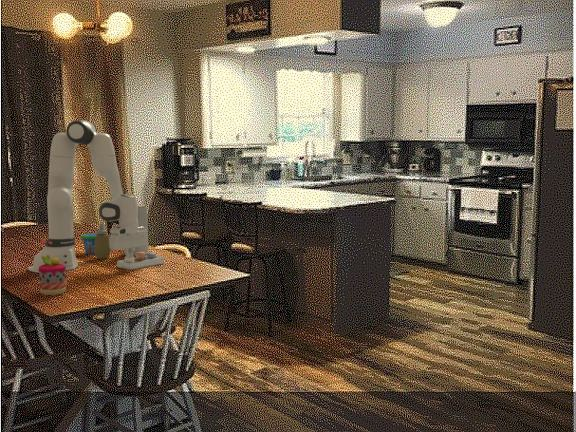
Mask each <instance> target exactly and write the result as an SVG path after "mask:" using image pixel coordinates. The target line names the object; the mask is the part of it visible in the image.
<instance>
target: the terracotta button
mask: <svg viewBox="0 0 576 432" xmlns="http://www.w3.org/2000/svg"><path fill="white" fill-rule="evenodd" d="M145 256H146V255H145V252H136V256H135V258H136V259H138V260H142V259H145Z"/></svg>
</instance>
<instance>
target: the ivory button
mask: <svg viewBox="0 0 576 432" xmlns="http://www.w3.org/2000/svg"><path fill="white" fill-rule="evenodd" d="M134 258H135V256H133V257H126V256H124V260H125V262H127V263H130V262H134Z"/></svg>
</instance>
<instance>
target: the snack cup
mask: <svg viewBox="0 0 576 432" xmlns="http://www.w3.org/2000/svg"><path fill="white" fill-rule="evenodd" d="M96 235H97V232H96V233H95V232H94V233H85V234H82V235H81V236H80V237H81V239H82V242H83V243H82V244H83V247H84V252H85V254H86V255H95V252H94V248H95V236H96Z"/></svg>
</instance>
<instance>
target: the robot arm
mask: <svg viewBox="0 0 576 432" xmlns="http://www.w3.org/2000/svg"><path fill="white" fill-rule="evenodd" d="M81 145H85V146H87V147H88V149H89V151H90V157H91V158H90V159H91V164H92V167H93V170H94V172H95V173H96V174H97V175H99V176H101V177H102V178H104V179H105V181H106V182H107V184H108V189H109V194H110V198H111V199H110V200H108V201H105V202H103V203H101V204H100V206H99V208H98V215H99V217H100V218H101V219H102V220H103V221H105V222H113V221H118V225H116V226H114V227H112V228H110V229H109V233H110V235H109V247H110V250H111V251H119V250H123V252H124V251H125V253H126V255H125V257H133V253H134V251H135V247H139V246H145V245H147V244H148V245H149V235H148V236H147V229H146V228H145V227H138V219H137V215H138V206H139V205H138V201H137V198H136V196H134V195H132V194H129V193H128V194H127V193H125V192H124V188H123V184H122V183H123V182H122V177H121V174H120V171H119V167H118V163H117V158H116V156H117V155H116V152H115V147H114V144H113V139H112V137H111V136H110V134H108V133H105V132H98V130H97V127H96V125H95V124H94V123H92V122H91V121H89V120H85V119H77V120H76V119H75V120H73V121H71V122H69V124H68V125H67V126H66V130H65V132H58V133H56V134H54V136H53V138H52V141H51V146H50V150H49V151H50V152H49V165H48V167H49V168H48V187H47V188H48V189H47V195H46V203H47V206H46V207H47V219H48V220H47V221H48V223H47V224H48V238H47V239H41V241H40V242H41V244H43V245H45V246H44V247H43V248H42V249H41V250H40V251H39V252H38V253H37V254H35V255H34V257H33V261H32V262H33V263H32V265H31V266H28V271H30V272H32V273H38V274H39V267H40V266H41V265H44V264H45V263H44V262H43V259H42V256H45V258H46V256H47V255H49V256H50V261H51V260H52V259H53V258H58V259H59V263H60V264H64V265H65V266H66V270H65V271H69V270H74V269H76V268H77V267H78V266H79V263H78V260H77V257H76V250H75V247H76V246H75V245H76V241H75V237H74V214H73V188H74V177H75V176H74V175H75V159H76V148H77V147H78V146H81ZM144 228H145V229H144ZM129 248H130V249H131V251H130V253H129V252H128V250H129Z"/></svg>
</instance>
